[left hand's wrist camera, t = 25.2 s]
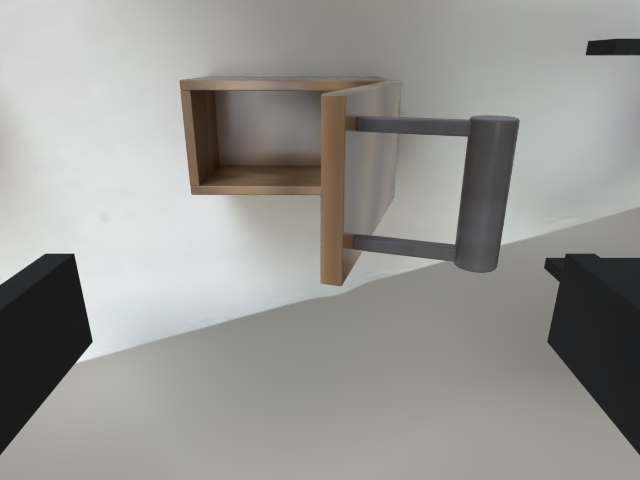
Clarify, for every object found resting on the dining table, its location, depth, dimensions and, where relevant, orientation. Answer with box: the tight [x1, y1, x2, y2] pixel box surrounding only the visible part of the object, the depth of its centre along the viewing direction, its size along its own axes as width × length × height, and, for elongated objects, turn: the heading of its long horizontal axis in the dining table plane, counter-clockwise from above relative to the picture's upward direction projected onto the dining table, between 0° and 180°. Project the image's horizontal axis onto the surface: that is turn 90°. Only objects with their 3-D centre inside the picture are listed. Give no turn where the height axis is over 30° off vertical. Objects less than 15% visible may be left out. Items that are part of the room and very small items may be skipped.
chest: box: [180, 77, 392, 195], centre depth 42 cm, size 17×9×9 cm, turn 90°
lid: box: [321, 81, 520, 286], centre depth 28 cm, size 17×9×9 cm
